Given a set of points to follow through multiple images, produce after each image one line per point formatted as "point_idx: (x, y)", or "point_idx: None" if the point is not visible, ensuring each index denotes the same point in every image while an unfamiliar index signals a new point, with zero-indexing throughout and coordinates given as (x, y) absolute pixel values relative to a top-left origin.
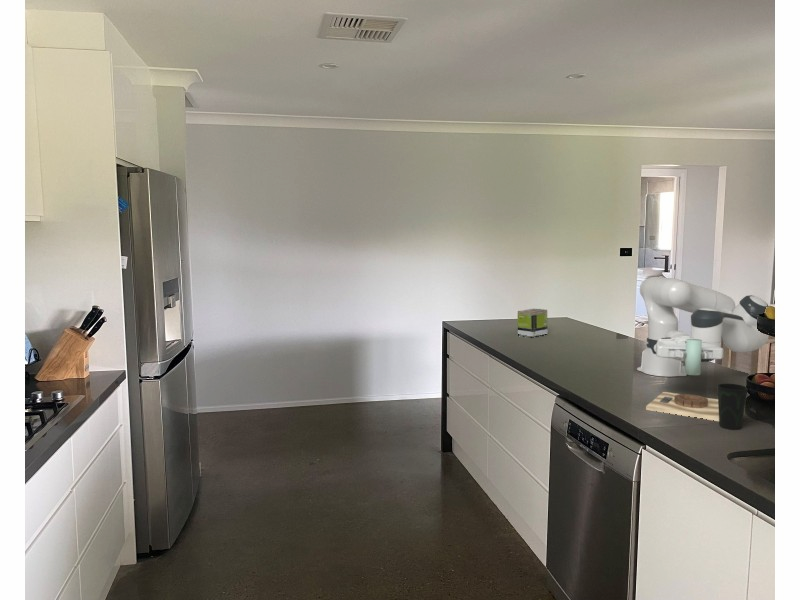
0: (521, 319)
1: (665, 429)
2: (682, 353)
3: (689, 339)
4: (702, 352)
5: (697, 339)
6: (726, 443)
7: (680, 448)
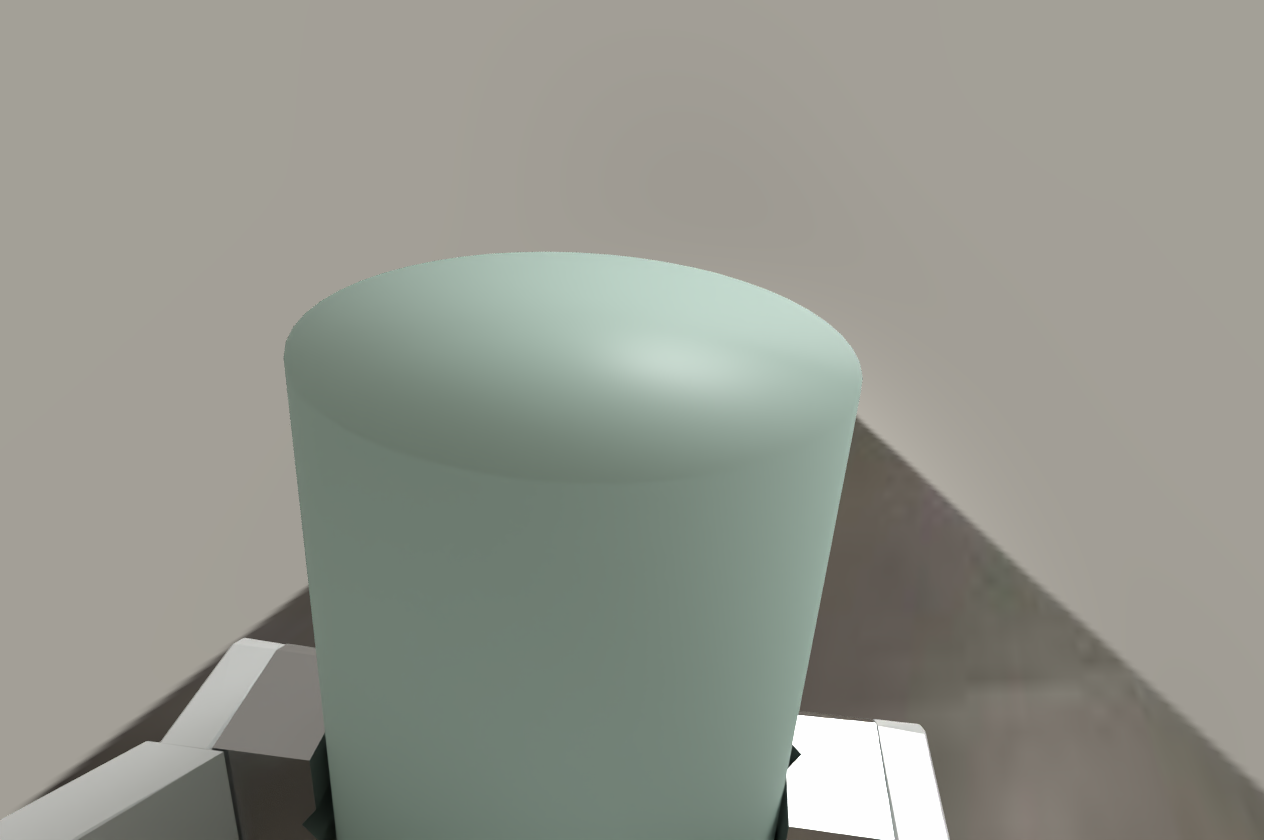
0: None
1: (953, 644)
2: (894, 726)
3: (716, 409)
4: (245, 746)
5: (356, 393)
6: None
7: (886, 456)
